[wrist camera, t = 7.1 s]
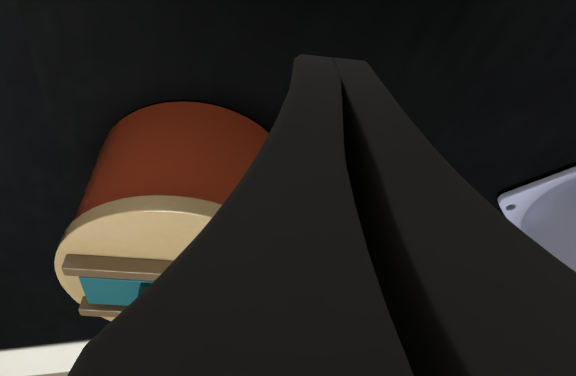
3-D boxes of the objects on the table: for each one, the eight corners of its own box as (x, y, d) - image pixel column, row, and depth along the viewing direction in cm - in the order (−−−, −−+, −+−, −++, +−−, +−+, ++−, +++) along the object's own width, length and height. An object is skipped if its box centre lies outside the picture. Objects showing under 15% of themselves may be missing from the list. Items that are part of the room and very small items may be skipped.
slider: (158, 274, 20) (147, 327, 19) (162, 300, 22) (152, 350, 20) (80, 269, 20) (62, 322, 18) (90, 295, 22) (74, 347, 20)
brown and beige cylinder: (307, 108, 22) (313, 236, 17) (282, 238, 30) (281, 355, 25) (78, 86, 22) (14, 215, 16) (113, 227, 29) (76, 345, 24)
